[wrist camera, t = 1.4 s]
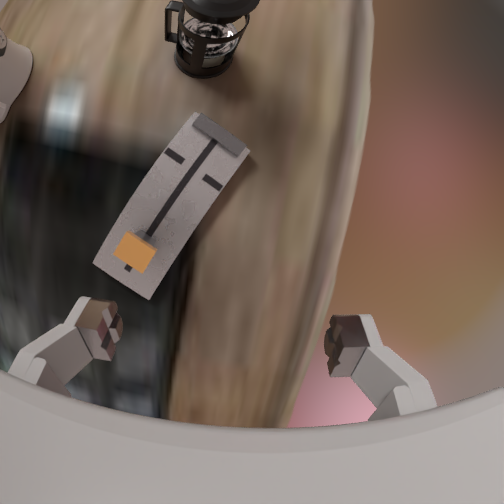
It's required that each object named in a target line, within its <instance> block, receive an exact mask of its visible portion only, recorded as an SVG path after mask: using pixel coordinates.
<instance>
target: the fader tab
mask: <svg viewBox="0 0 504 504" xmlns="http://www.w3.org/2000/svg"><path fill="white" fill-rule="evenodd" d="M155 243H156V240H155V239H153V238H152V237H150V236H149V235H147V234H146V233H144V232H143V231H141V230H139V231H137V232H136V233H132V232H131V231H127V232H126V233H125V235H124V236H123V238H122V240H121V241H120V243H119V245H118V246H117V248H116V250H115V252H114V253H113V255H115V256H116V257H118V258H119V259H121V260H122V261H124V262H125V263H127V264H128V265H130V266H131V267H133V268H134V269H136V270H137V271H139V272H140V273H142V274H143V272H144V271H145V269H146V267H147V266H148V264H149V262H150V261H151V259H152V258H153V256H154V254H155V253H156V251H157V249H156V248H155V247H153V246H154V245H155Z"/></svg>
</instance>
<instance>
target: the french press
mask: <svg viewBox="0 0 504 504" xmlns="http://www.w3.org/2000/svg"><path fill="white" fill-rule="evenodd" d="M182 1H183V2H178V1H170V2H169V4H168V5H167V7H166V8H165V41H168V42H173V43H177V44H176V49H175V54H174V58H175V62H176V65H177V66H178V68H179V69H180V70H181V71H182V72H183V73H185V74H187V75H188V76H191V77H194V78H201V79H206V78H212V77H216V76H218V75H220V74H222V73H223V72H225V71H226V70H227V69H228V68H229V66H230V64H231V63H232V59H233V55H234V53H235V50H236V48H237V46H238V44H239V42H240V40H241V38H242V35H243V33H244V31H245V29H246V27H247V25H248V23H249V18H250V15H249V13H250V12H251V11H253V10H254V9H255V8H256V7H257V5H258V4H259V1H260V0H182ZM185 9H186V11H187V12H188V13H189V14H190V15H191V16H192V17H194V18H192V19H190V20H188V21H187V22H186V23H185V24H184V25H183V22H184V13H185ZM172 11H175V12H179V15H178V31H177V34H176V33H172V32H171V18H172ZM244 15H245V19H246V24H245V27H244V28H243V29H242V30H241V31H239V32H238V33H237V30H236V28H235V27H234V25H233V24H232V23H233V22H235V21H236V20H238V19H239V18H241V17H242V16H244ZM239 36H240V37H239ZM238 37H239V39H238ZM237 41H238V42H237ZM235 45H236V46H235ZM184 49H185V50H186V51H187V52H188V53H190V54H191V55H192V57H191V63H190V64H189V63H187V62H186V61H185V60H184V59H183V55H182V53H183V50H184ZM223 55H225V59H224V61H223V62H222V63H221V65H219V66H215V67H209V68H202V64H203V60H204V59H211V58H217V57H220V56H223Z"/></svg>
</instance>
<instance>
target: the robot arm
mask: <svg viewBox="0 0 504 504" xmlns="http://www.w3.org/2000/svg"><path fill="white" fill-rule="evenodd" d="M32 62H33V59H32V53H31V51H30V50H29V49H28V48H27V47H25V46H22V45H19V44H17V43H15V42H13V41H12V40H10V39H8V38H7V37H6V35H5V34H4V32H3V31H2V30H1V29H0V123H1V122H3V121H4V119H5V117H6V115H7V113H8V111H9V108H10V106H11V104H12V103H13V101H14V100H15V99H16V97H17V96H18V95H19V93H20V92H21V90H22V89H23V87H24V85H25V84H26V82H27V80H28V77H29V75H30V72H31V68H32ZM117 309H118V307H117V305H116V302H114V301H110V300H103V299H97V298H90V297H84V296H82V297H80V298H79V299H78V301H77V302H76V304H75V305H74V307H73V309H72V310H71V312H70V314H69V315H68V317H67V319H66V320H65V322H64V324H59V325H58V326H56V327H55V328H53V329H51V330H50V331H48V332H47V333H45V334H44V335H42V336H41V337H39V338H37V339H36V340H34V341H33V342H31V343H30V344H28V345H27V346H25V347H24V348H22V349H21V350H20V351H19V353H18V355H17V356H16V358H15V360H14V362H13V364H12V366H11V367H10V369H9V371H8V373H7V372H5V371H3V370H0V504H504V387H498V388H494V389H492V390H489V391H486V392H484V393H481V394H478V395H475V396H472V397H469V398H466V399H463V400H460V401H457V402H453V403H450V404H446V405H443V406H439V407H437V404H436V401H435V398H434V395H433V393H432V390H431V387H430V385H429V382H428V380H427V379H426V378H424V377H423V376H422V375H421V374H420V373H418V372H417V371H416V370H415V369H414V368H413V367H411V366H410V365H409V364H408V363H406V362H405V361H404V360H403V359H401V357H399V356H398V355H397V354H396V353H394V352H393V351H392V350H391V349H390V348H389V347H387V346H383V343H382V341H381V338H380V336H379V333H378V330H377V328H376V325H375V323H374V320H373V318H372V316H371V315H370V314H363V315H361V314H359V315H333V316H332V317H331V319H330V326H331V327H330V328H329V329H328V330H327V331H326V334H325V339H324V349H325V354H326V355H327V356H328V357H329V360H328V362H327V365H328V369H329V374H330V377H350V376H351V379H352V380H353V381H354V382H355V383H356V384H357V385H358V387H359V388H360V389H361V390H362V391H363V393H364V394H365V395H366V396H367V397H368V398H369V400H370V401H371V402H372V403H373V404H374V406H375V407H376V408H377V410H376V411H375V412H374V413H373V414H372V415H371V417H370V418H369V419H368V421H366V422H359V423H351V424H342V425H331V426H318V427H302V428H245V427H226V426H213V425H202V424H193V423H185V422H178V421H171V420H164V419H158V418H152V417H147V416H142V415H137V414H132V413H127V412H123V411H118V410H114V409H110V408H106V407H102V406H99V405H95V404H91V403H88V402H84V401H81V400H78V399H74V398H71V394H70V393H69V391H68V390H67V389H66V387H65V386H64V385H65V384H66V383H67V382H69V381H70V380H71V379H72V378H73V377H74V376H75V375H76V374H77V373H78V372H79V371H80V370H81V369H83V368H84V367H85V366H86V365H87V364H88V363H89V362H90V361H91V360H92V359H93V358H97V359H102V360H108V361H111V360H112V357H113V355H114V352H115V350H116V346H115V343H116V342H117V341H118V340H120V337H121V335H122V329H123V325H122V319H121V317H120V316H119V315H118V314H117V313H116V312H117Z"/></svg>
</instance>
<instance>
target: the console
mask: <svg viewBox="0 0 504 504" xmlns="http://www.w3.org/2000/svg"><path fill="white" fill-rule="evenodd" d="M246 146H247V145H246V144H245V143H243V142H242V141H241V140H239V139H238V138H236V137H235V136H234V135H232V134H231V133H230V132H228V131H227V130H225V129H224V128H223V127H221V126H220V125H218V124H217V123H216V122H214V121H213V120H211V119H210V118H208V117H207V116H205V115H204V114H203V113H201V114H200V115H199V114H198V113H197V112H194V113H193V115H192V116H191V117H190V118H189V119H188V121H187V122H186V123H185V124H184V126H183V127H182V128H181V129H180V131H179V132H178V133H177V134H176V136H175V137H174V138H173V139H172V141H171V142H170V143H169V145H168V146H167V147H166V149H165V150H164V151H163V153H162V154H161V155H160V157H159V158H158V159H157V161H156V162H155V164H154V165H153V166H152V168H151V169H150V171H149V172H148V173H147V175H146V176H145V178H144V179H143V181H142V182H141V184H140V185H139V187H138V188H137V189H136V191H135V192H134V194H133V196H132V197H131V199H130V200H129V202H128V203H127V205H126V206H125V208H124V210H123V211H122V213H121V214H120V216H119V218H118V219H117V221H116V222H115V224H114V226H113V227H112V229H111V231H110V232H109V234H108V236H107V238H106V239H105V241H104V243H103V245H102V246H101V248H100V250H99V252H98V253H97V255H96V257H95V259H94V261H93V264H94V265H96V266H97V267H99V268H100V269H102V270H103V271H105V272H106V273H108V274H109V275H111V276H112V277H113V278H115V279H116V280H118V281H120V282H121V283H123V284H124V285H126V286H127V287H129V288H130V289H132V290H133V291H135V292H137V293H138V294H140V295H141V296H143V297H144V298H146V299H148V300H150V298H151V296H152V295H153V293H154V292H155V290H156V288H157V287H158V285H159V284H160V282H161V280H162V279H163V277H164V276H165V274H166V272H167V271H168V269H169V268H170V266H171V265H172V263H173V262H174V260H175V258H176V257H177V255H178V254H179V252H180V251H181V249H182V248H183V246H184V245H185V243H186V242H187V240H188V239H189V237H190V236H191V234H192V233H193V231H194V230H195V228H196V227H197V225H198V224H199V222H200V221H201V219H202V218H203V216H204V215H205V214H206V212H207V211H208V209H209V208H210V206H211V205H212V203H213V202H214V201H215V199H216V198H217V196H218V195H219V194H220V192H221V191H222V189H223V188H224V187H225V185H226V184H227V182H228V181H229V180H230V178H231V177H232V175H233V174H234V173H235V171H236V170H237V169H238V167H239V166H240V165H241V163H242V162H243V160H244V159H245V158H246V156H247V155H248V154H249V152H250V150H248V149H247V148H246ZM139 230H141V231H143V232H144V233H146V234H147V235H149V236H150V237H152V238H153V239H155V240H156V243H155V245H154V246H153V247H155V248H156V249H157V251H156V253H155V254H154V256H153V258H152V259H151V261H150V262H149V264H148V266H147V267H146V269H145V271H144V272H143V274H142V273H140V272H139V271H137V270H136V269H134V268H133V267H131V266H130V265H128V264H127V263H125V262H124V261H122V260H121V259H119V258H118V257H116V256H115V255H113V253H114V252H115V250H116V248H117V246H118V245H119V243H120V241H121V240H122V238H123V236H124V235H125V233H126V232H127V231H131V232H132V233H136V232H137V231H139Z"/></svg>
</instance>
